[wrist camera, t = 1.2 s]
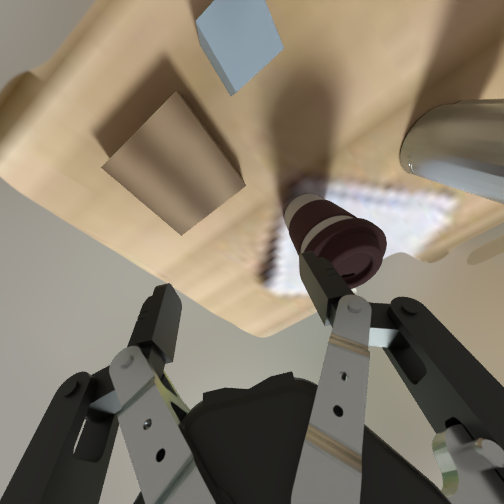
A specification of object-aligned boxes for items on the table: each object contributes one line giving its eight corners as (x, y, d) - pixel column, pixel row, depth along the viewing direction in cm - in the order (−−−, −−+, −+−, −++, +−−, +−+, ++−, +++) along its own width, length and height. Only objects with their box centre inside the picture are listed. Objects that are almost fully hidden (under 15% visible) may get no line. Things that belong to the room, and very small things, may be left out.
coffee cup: (298, 172, 29) (356, 216, 17) (343, 199, 33) (415, 250, 21) (265, 226, 34) (293, 290, 22) (308, 244, 38) (352, 306, 26)
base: (179, 92, 22) (175, 90, 20) (243, 179, 29) (245, 185, 26) (111, 161, 25) (101, 167, 22) (183, 226, 31) (181, 235, 29)
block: (238, 4, 19) (249, -39, 13) (265, 63, 22) (284, 48, 16) (200, 45, 20) (195, 21, 15) (230, 96, 23) (236, 92, 17)
